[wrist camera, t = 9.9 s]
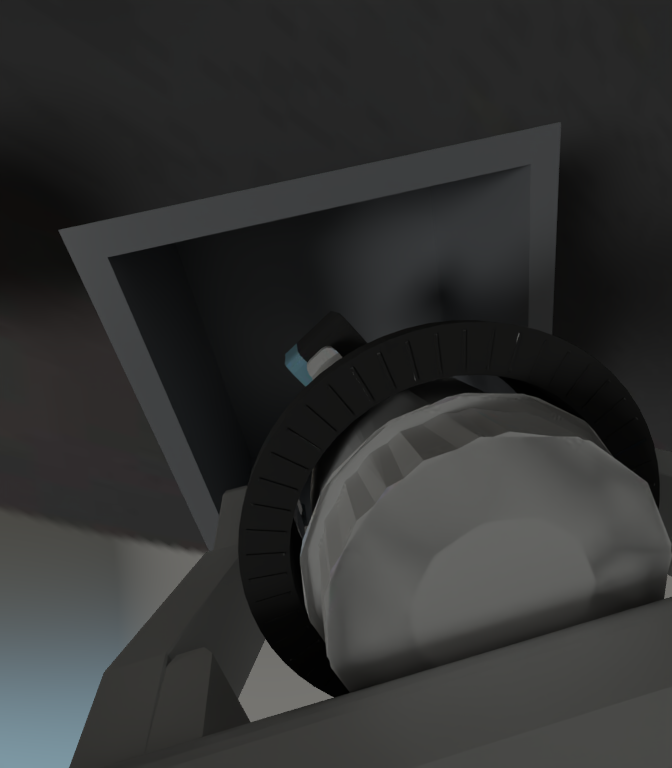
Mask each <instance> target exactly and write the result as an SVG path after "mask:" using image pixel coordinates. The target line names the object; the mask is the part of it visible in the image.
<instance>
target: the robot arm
mask: <svg viewBox="0 0 672 768" xmlns="http://www.w3.org/2000/svg"><path fill="white" fill-rule="evenodd" d="M655 452H656V457H657V461H658V469H659V480H660V503H659V513H660V516H661V519H662V521H663V524H664V526H665V529H666V531H667V534H668V537H669V539H670V542H671V553H672V452H668V451H664V450H659V449H655ZM247 486H248V485H246V486H242V487H238V488H234V489H230V490H227V491H225V493H224V494H223V497H222V503H221V509H220V514H219V520H218V526H217V532H216V538H215V544H214V550H212V551H209V552H206V553H205V554H204V555H203V556H202V558H201V559H200V560H199V561H198V562H197V564H196V565H195V566H194V567H193V568H192V569H191V571H190V572H189V573H188V574H187V575H186V576H185V578H184V579H183V580H182V581H181V582H180V584H179V585H178V586H177V587H176V588H175V589H174V591H173V592H172V593H171V594H170V595H169V596H168V598H167V599H166V600H165V601H164V602H163V604H162V605H161V606H160V607H159V608H158V609H157V611H156V612H155V613H154V614H153V615H152V617H151V618H150V619H149V620H148V621H147V622H146V624H145V625H144V626H143V627H142V628H141V629H140V631H139V632H138V633H137V634H136V635H135V637H134V638H133V639H132V640H131V641H130V643H129V644H128V645H127V646H126V647H125V648H124V650H123V651H122V652H121V653H120V654H119V655H118V657H117V658H116V659H115V660H114V661H113V662H112V664H111V665H110V666H109V667H108V668H107V670H106V671H105V672H104V674H103V677H102V679H101V682H100V685H99V688H98V690H97V693H96V696H95V699H94V701H93V704H92V707H91V710H90V712H89V715H88V718H87V721H86V723H85V727H84V729H83V732H82V734H81V737H80V740H79V743H78V745H77V748H76V751H75V753H74V756H73V759H72V762H71V764H70V767H69V768H672V597H670V598H666V599H663V600H659V601H656V602H653V603H649V604H646V605H643V606H639V607H636V608H633V609H629V610H626V611H623V612H619V613H616V614H612V615H609V616H606V617H602V618H599V619H596V620H592V621H589V622H586V623H582V624H579V625H576V626H572V627H569V628H566V629H562V630H559V631H556V632H552V633H549V634H546V635H542V636H539V637H536V638H532V639H529V640H526V641H522V642H519V643H516V644H512V645H509V646H506V647H502V648H499V649H496V650H492V651H489V652H486V653H482V654H479V655H476V656H472V657H469V658H465V659H462V660H459V661H455V662H452V663H449V664H445V665H442V666H439V667H435V668H432V669H429V670H425V671H422V672H418V673H415V674H412V675H408V676H405V677H402V678H398V679H395V680H392V681H388V682H385V683H382V684H378V685H375V686H371V687H368V688H365V689H361V690H358V691H355V692H351V693H348V694H345V695H341V696H338V697H334V698H331V699H328V700H325V701H321V702H318V703H314V704H311V705H308V706H304V707H301V708H298V709H294V710H291V711H287V712H284V713H281V714H278V715H274V716H271V717H267V718H264V719H261V720H258V721H254V722H250V721H249V719H248V717H247V715H246V713H245V711H244V709H243V708H242V706H241V704H240V702H239V700H238V697H239V695H240V693H241V691H242V689H243V686H244V684H245V682H246V680H247V678H248V676H249V674H250V671H251V669H252V667H253V665H254V663H255V660H256V658H257V656H258V654H259V652H260V650H261V647H262V645H263V643H264V641H265V637H264V636H263V634H262V633H261V631H260V629H259V627H258V625H257V623H256V621H255V619H254V617H253V615H252V613H251V611H250V608H249V605H248V602H247V599H246V597H245V594H244V589H243V585H242V580H241V576H240V568H239V557H238V538H239V525H240V518H241V512H242V506H243V502H244V497H245V493H246V489H247ZM294 520H295V523H296V526H297V529H298V531H299V533H300V535H301V537H302V539H303V538H304V535H305V533H306V530H307V527H308V525H309V518H308V515H307V511H306V507H305V505H304V504H303V503H302V502H301V494H300V497H299V500H298V503H297V506H296V509H295V512H294ZM668 575H670V576H672V558H671V562H670V566H669V570H668Z"/></svg>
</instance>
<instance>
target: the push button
mask: <svg viewBox="0 0 672 768" xmlns="http://www.w3.org/2000/svg"><path fill="white" fill-rule="evenodd" d="M285 365H286V367H287V368H288V369H289V370H290V371H291V372H292V374H293V375H294V376H295V377H296V378H297V379H298V380H299V381H300V382H301V383H302V384H303V385H304V386H305V388H304V389H303V390H302V391H301V392H300V393H299V394H298V395H297V396H296V398H295V399H294V400H293V401H292V402H291V403H290V404H289V406H288V407H287V408H286V409H285V410H284V412H283V413H282V415H281V416H280V418H279V419H278V420H277V422H276V423H275V425H274V426H273V428H272V429H271V431H270V433H269V435H268V436H267V438H266V440H265V442H264V444H263V446H262V447H261V449H260V452H259V454H258V456H257V459H256V461H255V464H254V466H253V469H252V471H251V475H250V479H249V482H248V486H247V489H246V493H245V497H244V502H243V506H242V512H241V518H240V525H239V538H238V557H239V568H240V576H241V580H242V585H243V589H244V594H245V597H246V599H247V602H248V605H249V608H250V611H251V613H252V615H253V617H254V619H255V621H256V623H257V625H258V627H259V629H260V631H261V633H262V634H263V636H264V637H265V639H266V640H267V642H268V643H269V645H270V646H271V648H272V649H273V650H274V651H275V652H276V653H277V654H278V656H279V657H280V658H281V659H282V660H283V661H284V662H285V663H286V664H287V665H288V666H289V667H290V668H291V669H292V670H293V671H295V672H296V673H297V674H298V675H299V676H300V677H302V678H303V679H305V680H306V681H307V682H309V683H310V684H312V685H313V686H314V687H316V688H318V689H320V690H321V691H323V692H325V693H327V694H329V695H330V696H333V697H338V696H341V695H345V694H348V693H351V692H355V691H358V690H361V689H365V688H368V687H371V686H375V685H378V684H382V683H385V682H388V681H392V680H395V679H398V678H402V677H405V676H408V675H412V674H415V673H418V672H422V671H425V670H429V669H432V668H435V667H439V666H442V665H445V664H449V663H452V662H455V661H459V660H462V659H465V658H469V657H472V656H476V655H479V654H482V653H486V652H489V651H492V650H496V649H499V648H502V647H506V646H509V645H512V644H516V643H519V642H522V641H526V640H529V639H532V638H536V637H539V636H542V635H546V634H549V633H552V632H556V631H559V630H562V629H566V628H569V627H572V626H576V625H579V624H582V623H586V622H589V621H592V620H596V619H599V618H602V617H606V616H609V615H612V614H616V613H619V612H623V611H626V610H629V609H633V608H636V607H639V606H643V605H646V604H649V603H653V602H656V601H659V600H663V599H664V595H665V588H666V580H667V574H668V570H669V566H670V562H671V558H672V553H671V542H670V539H669V537H668V534H667V531H666V529H665V526H664V524H663V521H662V519H661V516H660V513H659V503H660V480H659V469H658V461H657V457H656V452H655V447H654V443H653V440H652V438H651V435H650V432H649V429H648V426H647V424H646V422H645V420H644V418H643V416H642V414H641V412H640V410H639V407H638V406H637V404H636V403H635V401H634V400H633V398H632V397H631V395H630V394H629V392H628V391H627V389H626V388H625V387H624V386H623V385H622V384H621V383H620V381H619V380H618V379H617V378H616V377H615V376H614V374H612V373H611V372H610V371H609V370H608V369H607V368H606V367H605V366H603V365H602V364H601V363H600V362H599V361H598V360H597V359H595V358H594V357H592V356H591V355H589V354H588V353H586V352H585V351H583V350H582V349H580V348H579V347H577V346H575V345H573V344H571V343H569V342H567V341H565V340H563V339H561V338H559V337H556V336H554V335H551V334H548V333H545V332H543V331H540V330H536V329H532V328H528V327H524V326H519V325H515V324H506V323H497V322H488V321H479V320H451V321H442V322H434V323H427V324H423V325H418V326H414V327H410V328H405V329H402V330H399V331H397V332H394V333H391V334H388V335H385V336H382V337H380V338H378V339H376V340H374V341H371V342H369V343H367V342H366V341H365V340H364V339H363V338H362V336H361V335H360V334H359V333H358V332H357V331H356V330H355V329H354V328H353V327H352V325H351V324H350V323H349V322H348V321H347V320H346V319H345V318H344V317H343V316H342V315H341V314H340V313H337V312H334V311H330V312H329V313H328V314H327V315H326V316H325V317H324V318H323V319H322V320H321V321H320V322H318V323H317V324H316V325H315V326H314V327H313V328H312V329H311V330H310V331H309V332H308V333H307V334H306V335H305V336H304V337H303V338H302V339H301V340H300V341H299V342H297V343H296V344H295V345H294V346H293V347H292V348H291V349H290V350H289V351H288V352H287V353H286V354H285ZM463 375H491V376H498V377H499V378H501V379H502V380H503V381H505V382H506V383H507V384H508V385H509V386H510V387H511V388H512V389H513V390H514V391H515V392H516V393H517V394H501V393H485V392H483V391H481V390H479V389H477V388H475V387H473V386H471V385H469V384H466V383H464V382H462V381H460V380H458V379H456V378H454V377H453V376H463ZM311 471H312V478H311V491H310V499H311V509H312V517H311V520H310V522H309V525H308V527H307V530H306V533H305V535H304V538H303V539H302V537H301V535H300V533H299V531H298V529H297V526H296V523H295V520H294V512H295V509H296V506H297V503H298V500H299V497H300V494H301V491H302V489H303V487H304V485H305V483H306V481H307V479H308V477H309V475H310V473H311Z"/></svg>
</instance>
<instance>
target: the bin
mask: <svg viewBox="0 0 672 768" xmlns="http://www.w3.org/2000/svg"><path fill="white" fill-rule="evenodd" d="M560 135H561V122H559V123H554V124H549V125H545V126H540V127H536V128H531V129H526V130H522V131H517V132H512V133H508V134H503V135H498V136H494V137H489V138H484V139H480V140H475V141H470V142H466V143H461V144H456V145H452V146H447V147H442V148H438V149H433V150H428V151H424V152H419V153H415V154H410V155H405V156H401V157H396V158H391V159H387V160H382V161H377V162H373V163H368V164H363V165H359V166H354V167H349V168H345V169H340V170H335V171H331V172H326V173H321V174H317V175H312V176H308V177H303V178H298V179H294V180H289V181H284V182H280V183H275V184H270V185H266V186H261V187H256V188H252V189H247V190H242V191H238V192H233V193H228V194H224V195H219V196H214V197H210V198H205V199H200V200H196V201H191V202H187V203H182V204H177V205H173V206H168V207H163V208H159V209H154V210H149V211H145V212H140V213H135V214H131V215H126V216H121V217H117V218H112V219H107V220H103V221H98V222H93V223H89V224H84V225H80V226H75V227H70V228H66V229H61V230H58V231H59V233H60V235H61V237H62V239H63V241H64V243H65V245H66V248H67V250H68V252H69V254H70V256H71V258H72V260H73V262H74V265H75V267H76V269H77V271H78V273H79V275H80V277H81V279H82V282H83V284H84V286H85V288H86V290H87V292H88V294H89V296H90V299H91V301H92V303H93V305H94V307H95V309H96V311H97V313H98V316H99V318H100V320H101V322H102V324H103V326H104V328H105V330H106V333H107V335H108V337H109V339H110V341H111V343H112V345H113V347H114V350H115V352H116V354H117V356H118V358H119V360H120V362H121V364H122V367H123V369H124V371H125V373H126V375H127V377H128V379H129V381H130V384H131V386H132V388H133V390H134V392H135V394H136V396H137V398H138V401H139V403H140V405H141V407H142V409H143V411H144V413H145V415H146V418H147V420H148V422H149V424H150V426H151V428H152V430H153V432H154V435H155V437H156V439H157V441H158V443H159V445H160V447H161V449H162V452H163V454H164V456H165V458H166V460H167V462H168V464H169V466H170V469H171V471H172V473H173V475H174V477H175V479H176V481H177V483H178V486H179V488H180V490H181V492H182V494H183V496H184V498H185V500H186V503H187V505H188V507H189V509H190V511H191V513H192V515H193V518H194V520H195V522H196V524H197V526H198V528H199V530H200V532H201V535H202V537H203V539H204V541H205V543H206V545H207V547H208V549H209V551H212V550H214V544H215V538H216V532H217V526H218V520H219V514H220V509H221V503H222V497H223V494H224V493H225V491H227V490H230V489H234V488H238V487H242V486H246V485H248V482H249V479H250V475H251V471H252V469H253V466H254V464H255V461H256V459H257V456H258V454H259V452H260V449H261V447H262V446H263V444H264V442H265V440H266V438H267V436H268V435H269V433H270V431H271V429H272V428H273V426H274V425H275V423H276V422H277V420H278V419H279V418H280V416H281V415H282V413H283V412H284V410H285V409H286V408H287V407H288V406H289V404H290V403H291V402H292V401H293V400H294V399H295V398H296V396H297V395H298V394H299V393H300V392H301V391H302V390H303V389H304V388H305V386H304V385H303V384H302V383H301V382H300V381H299V380H298V379H297V378H296V377H295V376H294V375H293V374H292V372H291V371H290V370H289V369H288V368H287V367H286V365H285V354H286V353H287V352H288V351H289V350H290V349H291V348H292V347H293V346H294V345H295V344H296V343H297V342H299V341H300V340H301V339H302V338H303V337H304V336H305V335H306V334H307V333H308V332H309V331H310V330H311V329H312V328H313V327H314V326H315V325H316V324H317V323H318V322H320V321H321V320H322V319H323V318H324V317H325V316H326V315H327V314H328V313H329V312H330V311H334V312H337V313H340V314H341V315H342V316H343V317H344V318H345V319H346V320H347V321H348V322H349V323H350V324H351V325H352V327H353V328H354V329H355V330H356V331H357V332H358V333H359V334H360V335H361V336H362V338H363V339H364V340H365V341H366V342H367V343H369V342H371V341H374V340H376V339H378V338H380V337H382V336H385V335H388V334H391V333H394V332H397V331H399V330H402V329H405V328H410V327H414V326H418V325H423V324H427V323H434V322H442V321H451V320H479V321H488V322H497V323H506V324H515V325H519V326H524V327H528V328H532V329H536V330H540V331H543V332H545V333H548V334H551V335H552V326H553V302H554V278H555V254H556V231H557V207H558V183H559V159H560ZM453 377H454V378H456V379H458V380H460V381H462V382H464V383H466V384H469V385H471V386H473V387H475V388H477V389H479V390H481V391H483V392H485V393H501V394H517V393H516V392H515V391H514V390H513V389H512V388H511V387H510V386H509V385H508V384H507V383H506V382H505V381H503V380H502V379H501V378H499V377H498V376H491V375H463V376H453ZM311 478H312V471H311V473H310V475H309V477H308V479H307V481H306V483H305V485H304V487H303V489H302V491H301V502H302V503H303V504H304V505H305V507H306V511H307V515H308V518H309V522H310V520H311V517H312V509H311V499H310V491H311Z"/></svg>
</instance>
